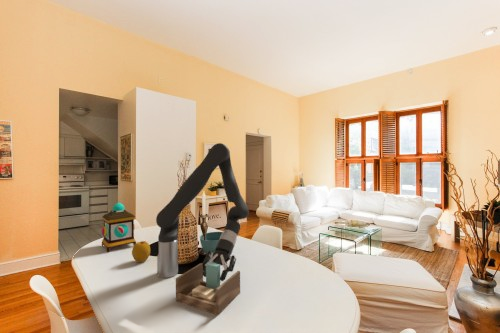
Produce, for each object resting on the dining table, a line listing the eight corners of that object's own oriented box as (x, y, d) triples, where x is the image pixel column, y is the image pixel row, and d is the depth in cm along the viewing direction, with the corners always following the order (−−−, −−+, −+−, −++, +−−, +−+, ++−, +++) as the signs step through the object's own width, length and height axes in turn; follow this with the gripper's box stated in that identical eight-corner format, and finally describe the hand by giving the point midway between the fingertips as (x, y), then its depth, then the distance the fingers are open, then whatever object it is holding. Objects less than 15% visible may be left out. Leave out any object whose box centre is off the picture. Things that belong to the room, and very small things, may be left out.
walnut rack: (175, 305, 92) (175, 278, 92) (201, 286, 106) (201, 263, 106) (218, 319, 83) (218, 289, 83) (240, 296, 97) (240, 271, 97)
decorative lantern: (130, 240, 176) (129, 200, 176) (138, 246, 161) (138, 202, 161) (99, 246, 162) (98, 203, 162) (105, 253, 148) (104, 206, 148)
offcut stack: (190, 302, 91) (190, 290, 91) (199, 295, 96) (199, 284, 96) (209, 308, 87) (208, 296, 87) (217, 300, 92) (217, 289, 92)
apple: (137, 266, 128) (136, 245, 128) (128, 262, 134) (128, 241, 134) (153, 260, 136) (153, 240, 136) (145, 257, 142) (144, 237, 142)
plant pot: (217, 264, 130) (217, 242, 130) (193, 258, 139) (193, 237, 139) (236, 254, 145) (236, 234, 145) (213, 248, 155) (213, 230, 155)
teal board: (206, 293, 97) (205, 264, 97) (209, 290, 99) (209, 262, 99) (217, 296, 95) (217, 266, 95) (220, 293, 97) (220, 264, 97)
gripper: (210, 236, 108) (194, 271, 98) (237, 240, 102) (223, 278, 91) (217, 244, 113) (202, 278, 102) (243, 248, 107) (230, 285, 96)
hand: (212, 278), depth 97 cm, fingers open, 8 cm apart
